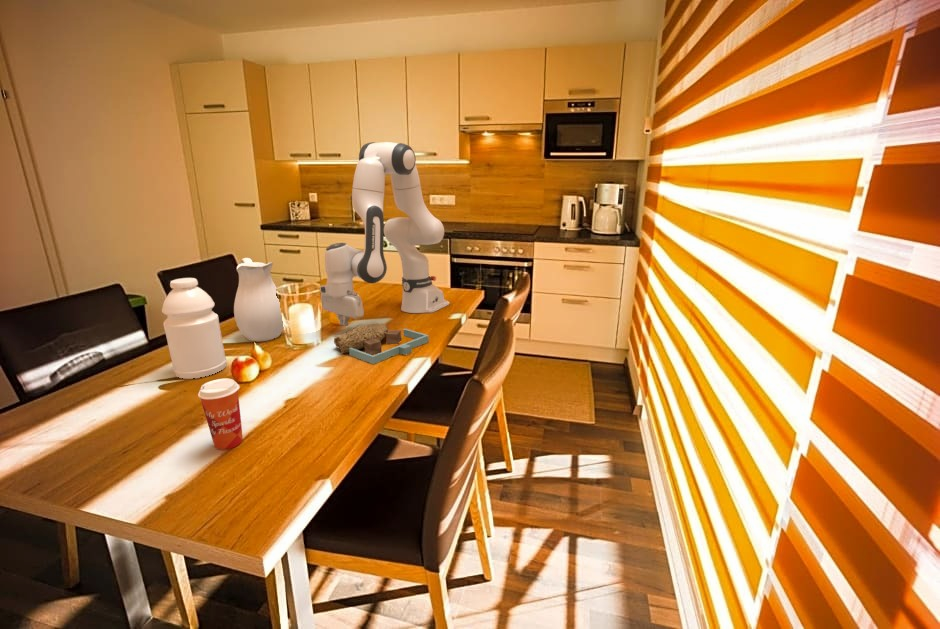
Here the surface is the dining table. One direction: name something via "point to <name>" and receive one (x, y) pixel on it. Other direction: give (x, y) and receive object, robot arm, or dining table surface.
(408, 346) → the grey piece
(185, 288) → the bottle
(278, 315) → the pitcher
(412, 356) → the dining table surface
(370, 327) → the rough brown rock
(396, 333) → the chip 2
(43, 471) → the dining table surface
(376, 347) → the chip
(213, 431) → the paper cup
